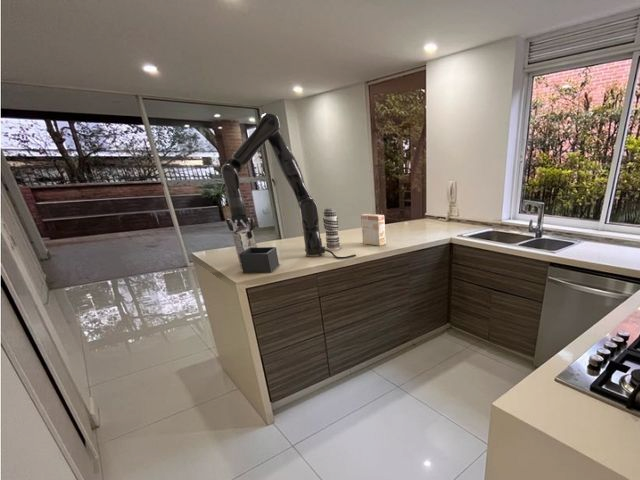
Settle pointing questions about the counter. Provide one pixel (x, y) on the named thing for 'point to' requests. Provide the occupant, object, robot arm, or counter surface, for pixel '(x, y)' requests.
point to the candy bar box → (243, 241)
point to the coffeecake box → (373, 229)
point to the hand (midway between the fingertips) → (244, 238)
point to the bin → (259, 259)
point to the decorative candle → (331, 229)
